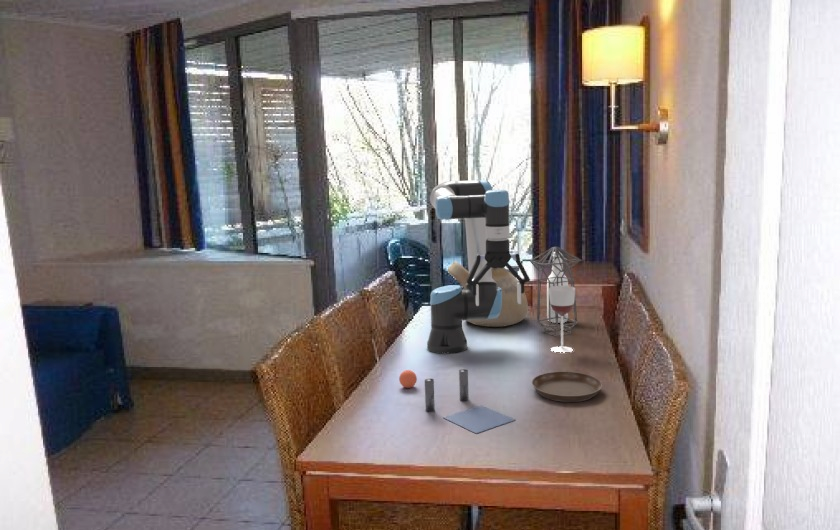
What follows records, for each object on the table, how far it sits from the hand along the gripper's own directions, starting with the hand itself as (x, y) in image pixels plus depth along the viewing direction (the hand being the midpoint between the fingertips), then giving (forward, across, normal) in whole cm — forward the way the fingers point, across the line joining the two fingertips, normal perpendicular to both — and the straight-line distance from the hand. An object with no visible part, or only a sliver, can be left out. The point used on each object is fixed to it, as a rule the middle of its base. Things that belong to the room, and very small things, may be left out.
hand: (498, 304), depth 217 cm
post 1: (+23, -24, -29) cm, 44 cm away
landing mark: (+23, -11, -37) cm, 45 cm away
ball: (+21, -30, -9) cm, 38 cm away
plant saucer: (+24, +18, -19) cm, 35 cm away
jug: (+25, +6, +70) cm, 75 cm away
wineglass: (+24, +27, +25) cm, 44 cm away
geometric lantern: (+24, +30, +48) cm, 62 cm away
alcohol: (+25, +35, +66) cm, 79 cm away
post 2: (+23, -14, -22) cm, 35 cm away
